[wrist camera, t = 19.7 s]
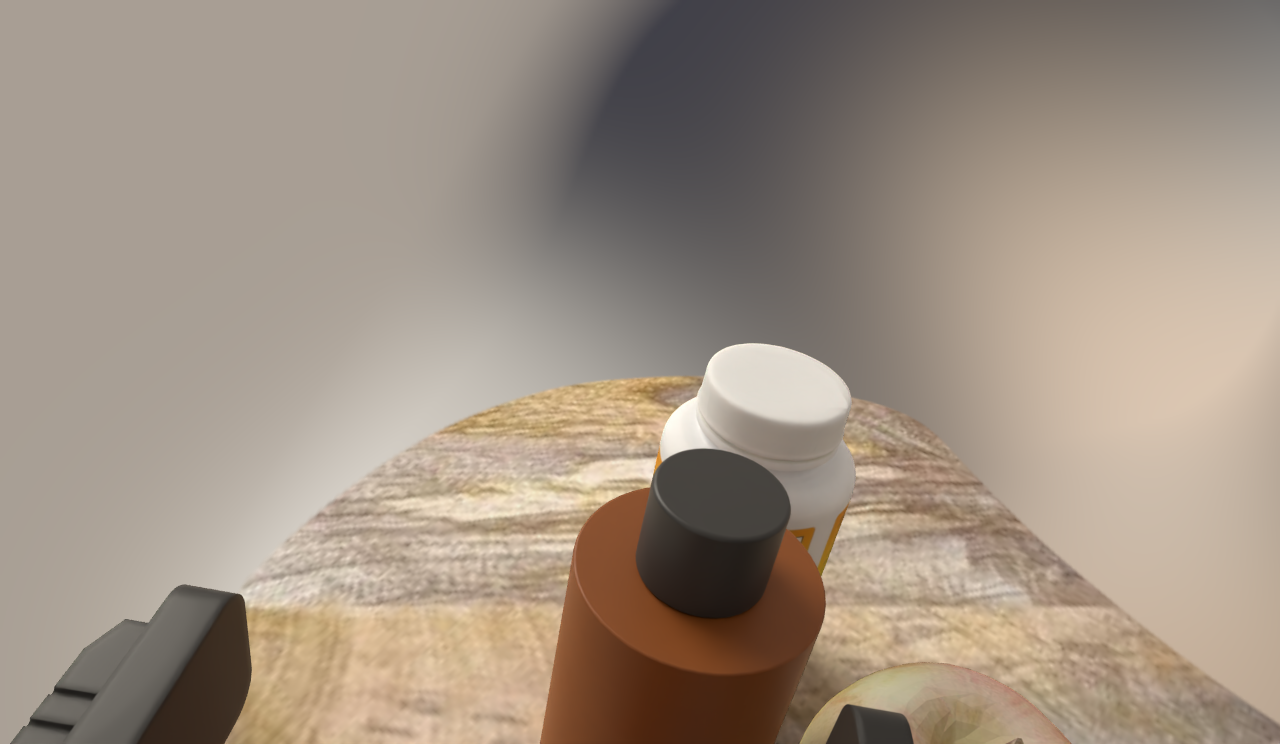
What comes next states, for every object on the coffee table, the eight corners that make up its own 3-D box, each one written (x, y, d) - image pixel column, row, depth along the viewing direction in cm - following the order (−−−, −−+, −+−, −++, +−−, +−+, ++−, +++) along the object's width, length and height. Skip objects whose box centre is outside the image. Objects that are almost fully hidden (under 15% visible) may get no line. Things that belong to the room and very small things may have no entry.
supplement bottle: (722, 559, 32) (794, 316, 26) (820, 675, 28) (928, 419, 23) (588, 603, 29) (639, 341, 24) (678, 739, 25) (763, 464, 20)
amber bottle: (504, 937, 20) (567, 562, 14) (541, 745, 24) (603, 392, 18) (717, 974, 20) (877, 617, 14) (717, 775, 24) (839, 434, 18)
